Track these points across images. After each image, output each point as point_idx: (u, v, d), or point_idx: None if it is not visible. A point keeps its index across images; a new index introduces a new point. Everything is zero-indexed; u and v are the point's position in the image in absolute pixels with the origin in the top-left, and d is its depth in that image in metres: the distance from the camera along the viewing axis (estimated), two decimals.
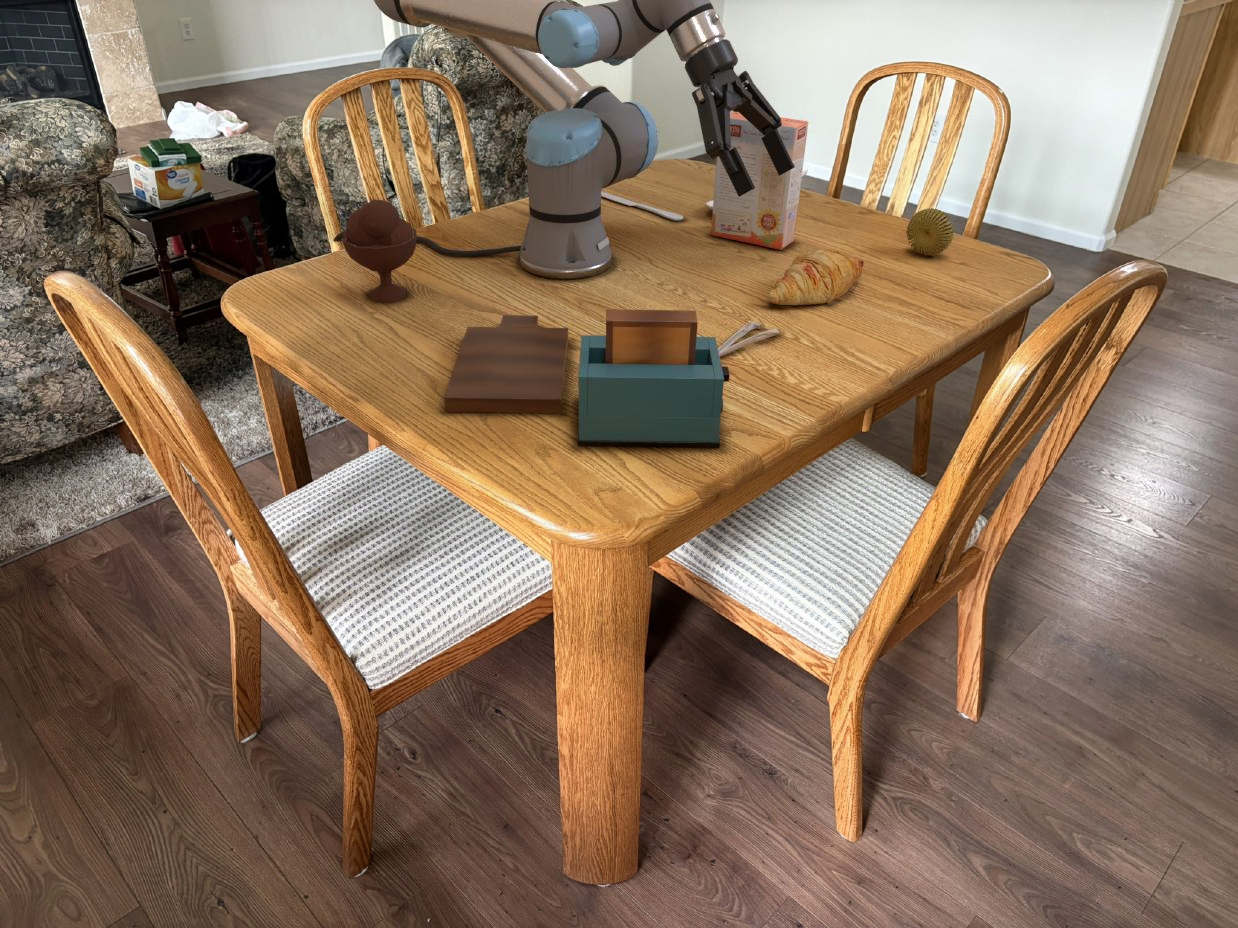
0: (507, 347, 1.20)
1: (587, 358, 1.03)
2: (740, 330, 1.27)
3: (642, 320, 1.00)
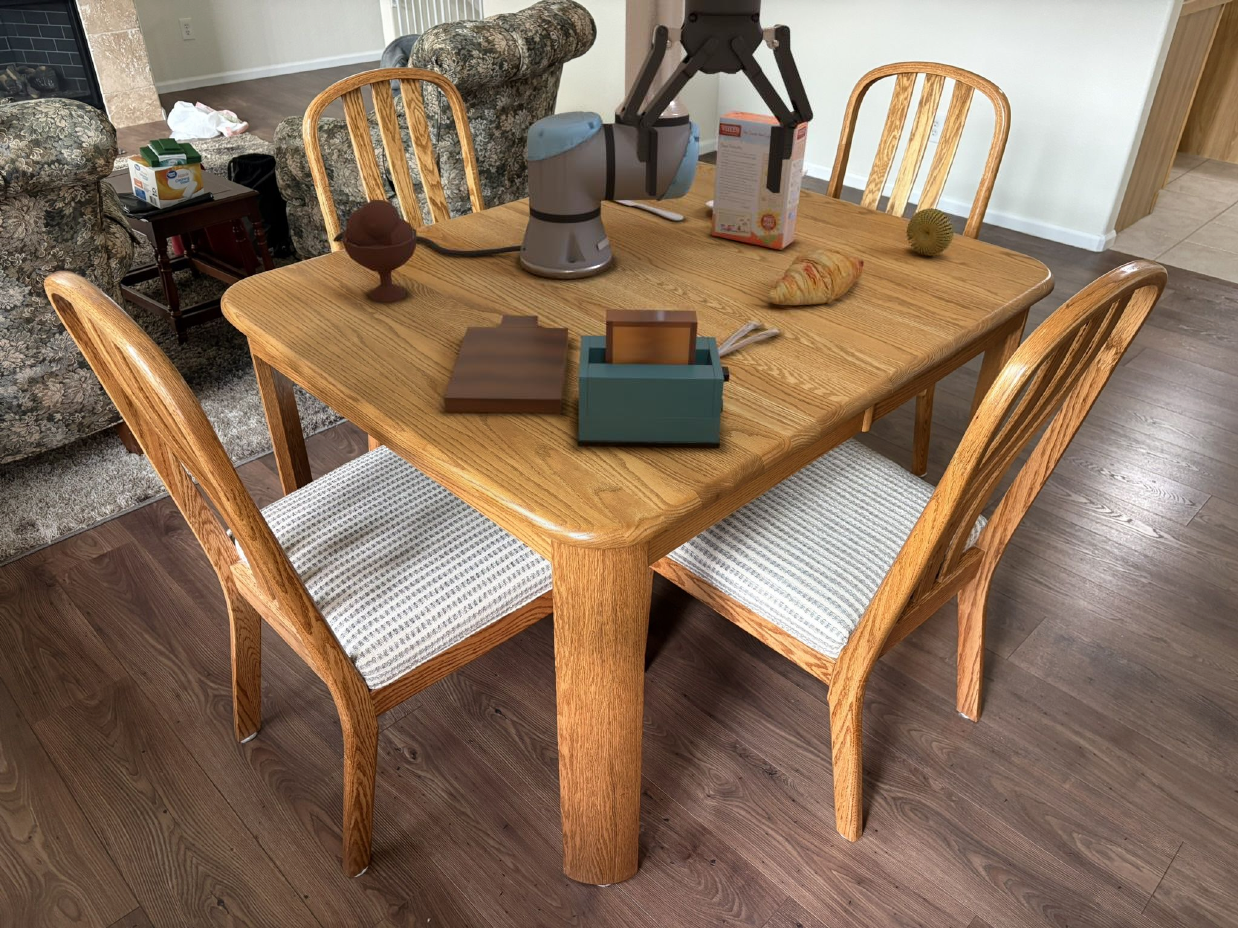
0: (507, 347, 1.20)
1: (587, 358, 1.03)
2: (740, 330, 1.27)
3: (642, 320, 1.00)
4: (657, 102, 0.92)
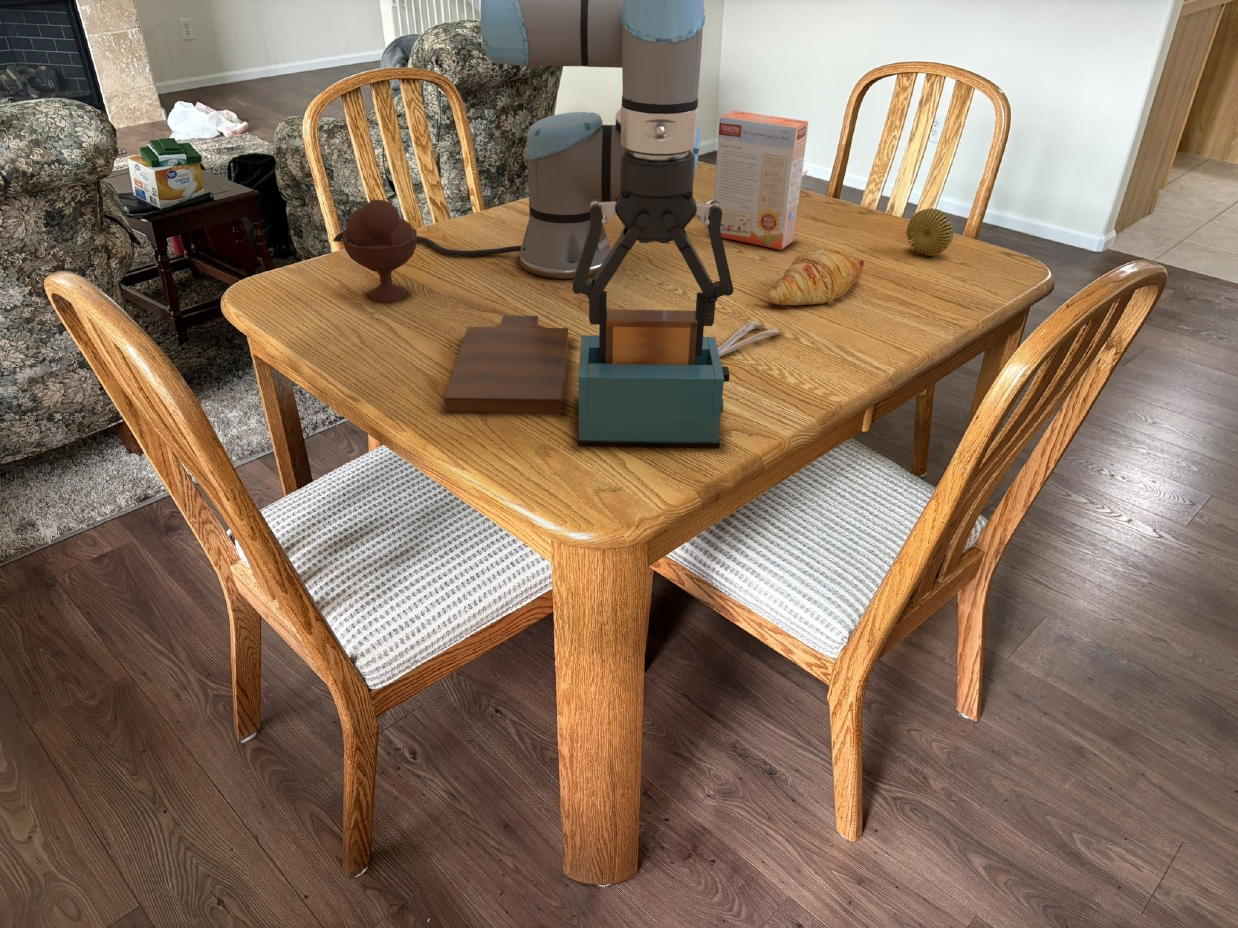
0: (507, 347, 1.20)
1: (587, 358, 1.03)
2: (740, 330, 1.27)
3: (642, 320, 1.00)
4: (602, 274, 0.97)
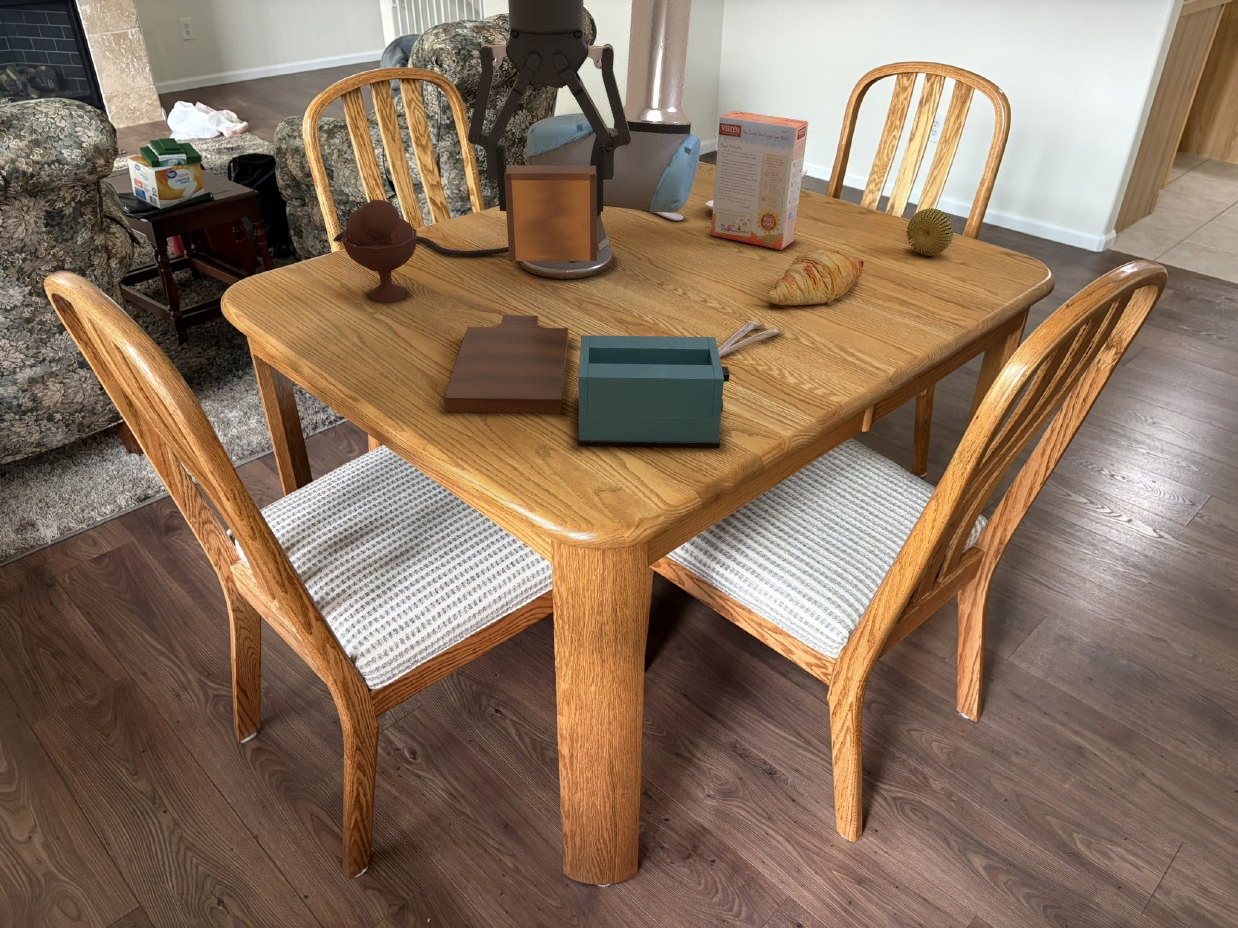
0: (507, 347, 1.20)
1: (587, 358, 1.03)
2: (740, 330, 1.27)
3: (541, 173, 0.99)
4: (496, 122, 0.96)
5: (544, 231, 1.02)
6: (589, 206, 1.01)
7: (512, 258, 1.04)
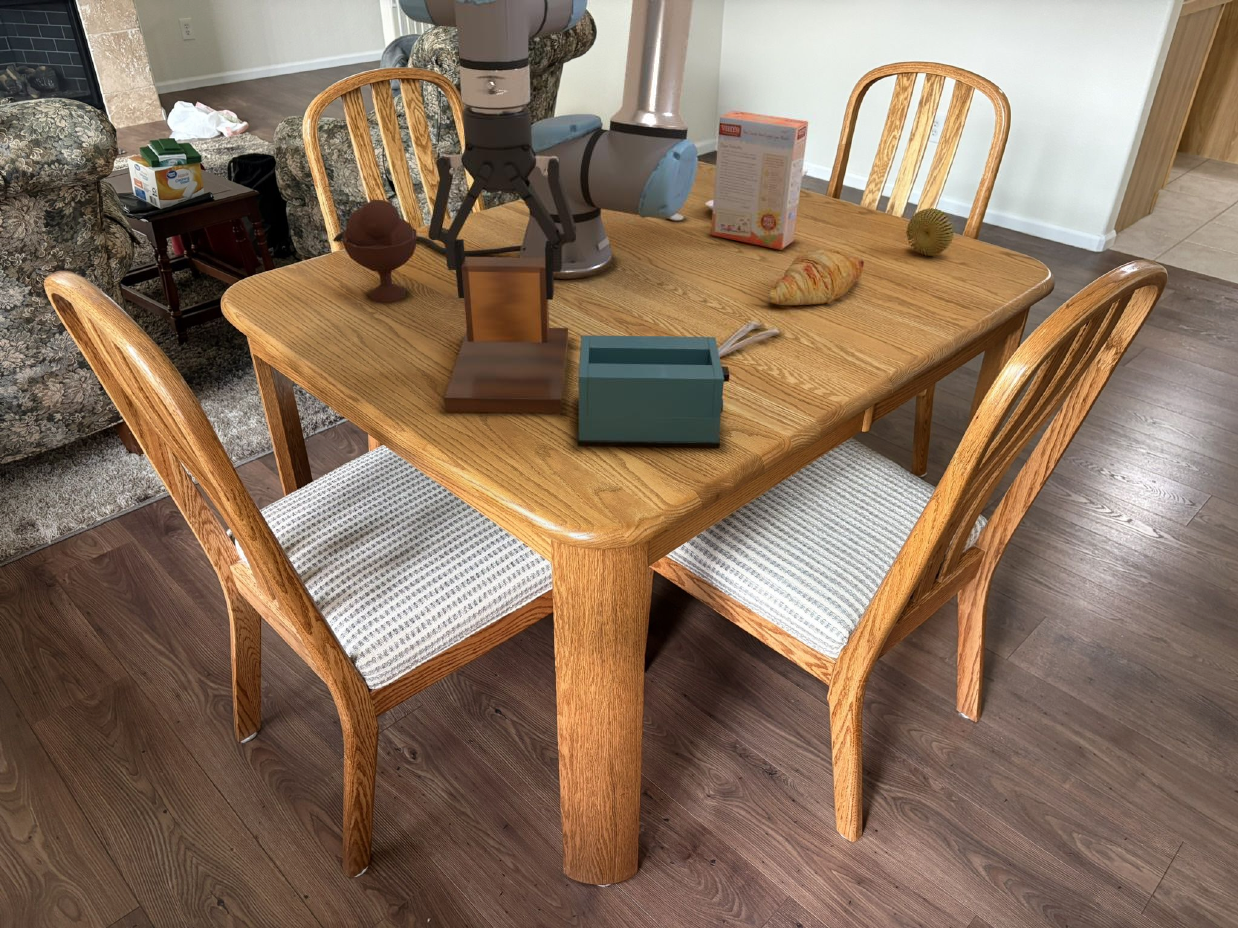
0: (507, 347, 1.20)
1: (587, 358, 1.03)
2: (740, 330, 1.27)
3: (495, 265, 1.08)
4: (454, 221, 1.06)
5: (499, 316, 1.12)
6: (539, 295, 1.10)
7: (470, 339, 1.14)
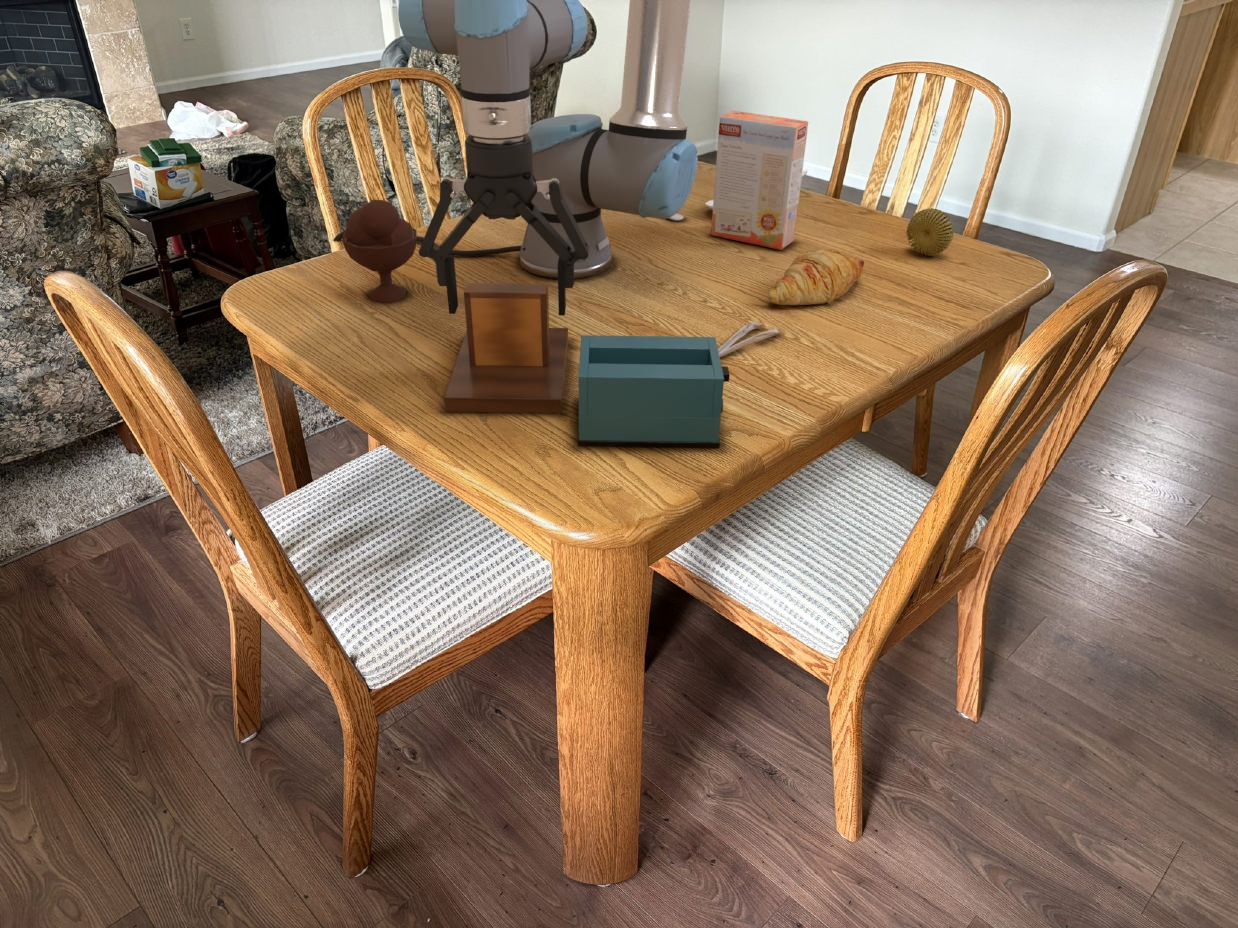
0: None
1: (587, 358, 1.03)
2: (740, 330, 1.27)
3: (496, 292, 1.10)
4: (447, 240, 1.07)
5: (500, 341, 1.14)
6: (540, 320, 1.12)
7: (472, 363, 1.15)
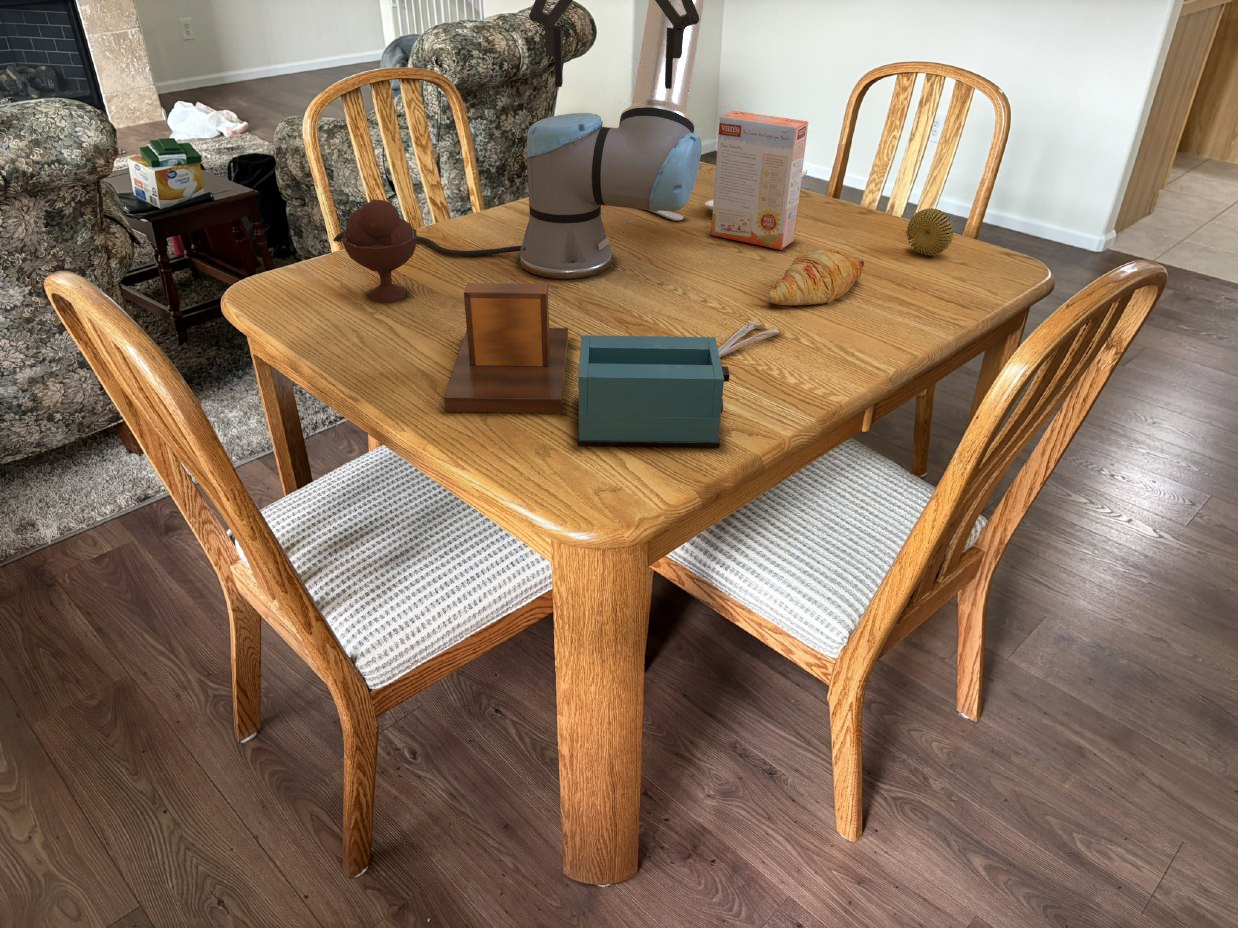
0: None
1: (587, 358, 1.03)
2: (740, 330, 1.27)
3: (496, 292, 1.10)
4: (559, 2, 1.06)
5: (500, 341, 1.14)
6: (540, 320, 1.12)
7: (472, 363, 1.15)
